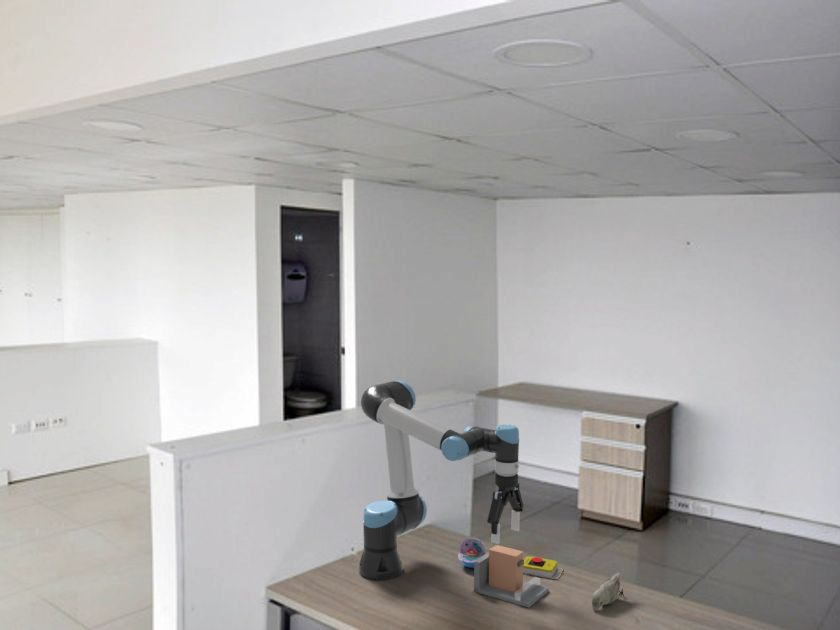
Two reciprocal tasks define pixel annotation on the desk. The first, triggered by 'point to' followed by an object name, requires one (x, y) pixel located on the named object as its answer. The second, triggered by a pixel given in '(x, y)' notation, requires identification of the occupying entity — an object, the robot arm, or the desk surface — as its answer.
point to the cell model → (471, 551)
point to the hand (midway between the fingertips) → (505, 536)
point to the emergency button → (541, 567)
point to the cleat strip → (527, 589)
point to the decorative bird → (607, 592)
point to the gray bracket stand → (483, 587)
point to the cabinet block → (506, 568)
